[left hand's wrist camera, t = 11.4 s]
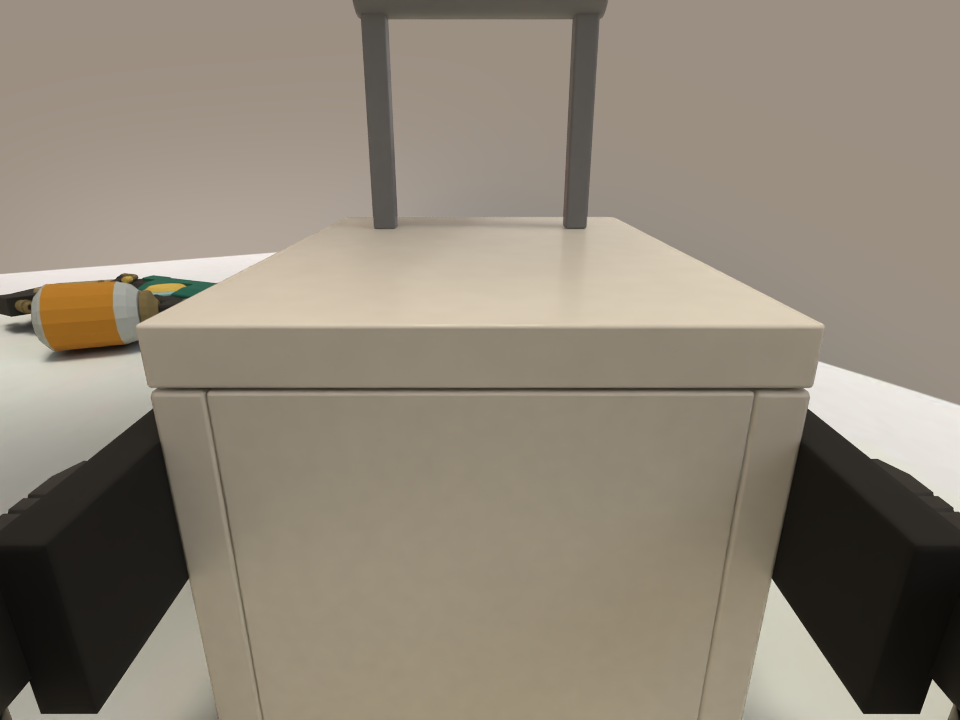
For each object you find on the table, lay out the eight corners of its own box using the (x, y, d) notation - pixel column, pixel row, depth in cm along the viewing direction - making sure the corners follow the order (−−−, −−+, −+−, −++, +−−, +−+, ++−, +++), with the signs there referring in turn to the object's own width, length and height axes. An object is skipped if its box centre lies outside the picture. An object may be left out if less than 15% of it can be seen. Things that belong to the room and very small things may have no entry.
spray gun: (0, 326, 45) (205, 301, 54) (17, 372, 33) (276, 329, 42) (-13, 270, 44) (198, 255, 53) (-2, 297, 32) (269, 271, 41)
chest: (359, 459, 25) (342, 249, 22) (600, 459, 25) (617, 249, 22) (231, 789, 12) (146, 392, 9) (729, 789, 12) (814, 393, 9)
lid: (347, 244, 22) (327, -24, 19) (613, 244, 22) (633, -24, 19) (146, 389, 9) (-26, -422, 6) (814, 389, 9) (988, -422, 6)
